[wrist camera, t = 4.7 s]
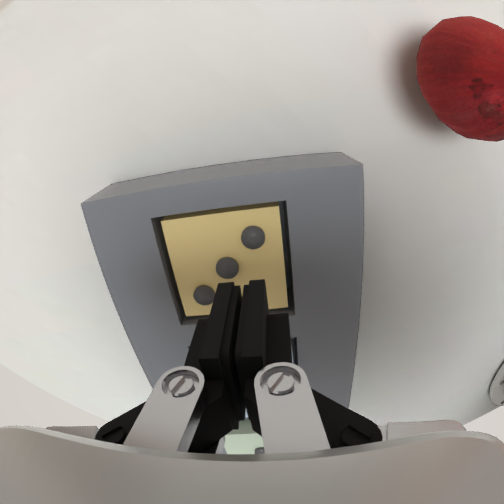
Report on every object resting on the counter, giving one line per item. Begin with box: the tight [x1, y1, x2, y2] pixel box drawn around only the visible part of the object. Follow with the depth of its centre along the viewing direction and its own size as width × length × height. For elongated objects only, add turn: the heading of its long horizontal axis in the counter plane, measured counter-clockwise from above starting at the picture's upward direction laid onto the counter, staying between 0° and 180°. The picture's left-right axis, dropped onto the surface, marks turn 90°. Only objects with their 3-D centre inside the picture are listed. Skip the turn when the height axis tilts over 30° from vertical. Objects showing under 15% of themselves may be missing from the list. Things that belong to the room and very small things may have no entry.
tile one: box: [224, 419, 265, 454], centre depth 20 cm, size 5×5×2 cm
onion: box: [417, 16, 504, 142], centre depth 9 cm, size 6×6×8 cm
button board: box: [81, 152, 364, 454], centre depth 18 cm, size 12×22×4 cm, turn 7°
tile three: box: [161, 201, 288, 316], centre depth 15 cm, size 5×5×2 cm
